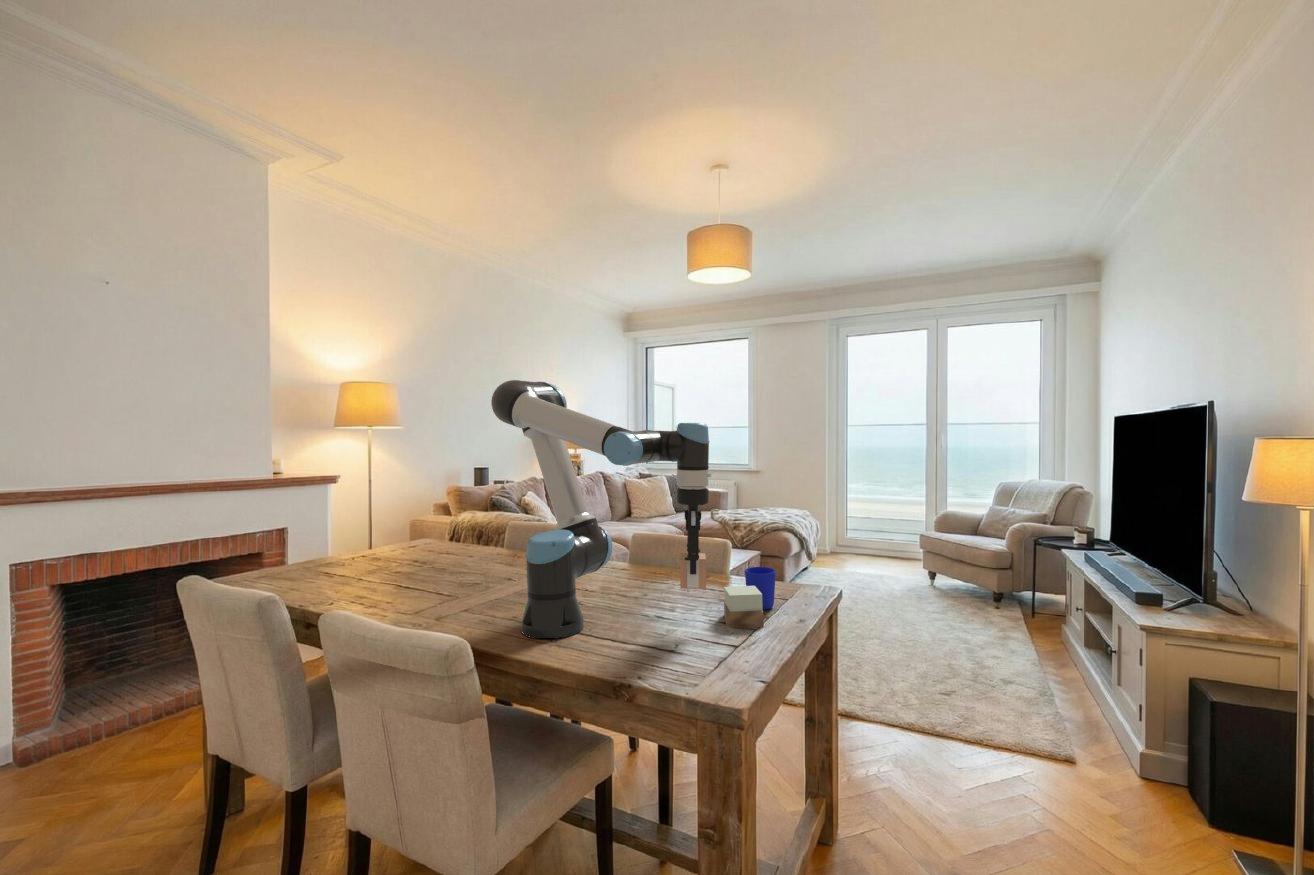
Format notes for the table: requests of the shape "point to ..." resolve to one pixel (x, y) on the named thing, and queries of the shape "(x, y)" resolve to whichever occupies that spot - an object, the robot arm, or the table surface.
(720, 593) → the table surface
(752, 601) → the block
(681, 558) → the clay block
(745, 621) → the riser lower
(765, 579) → the mug
